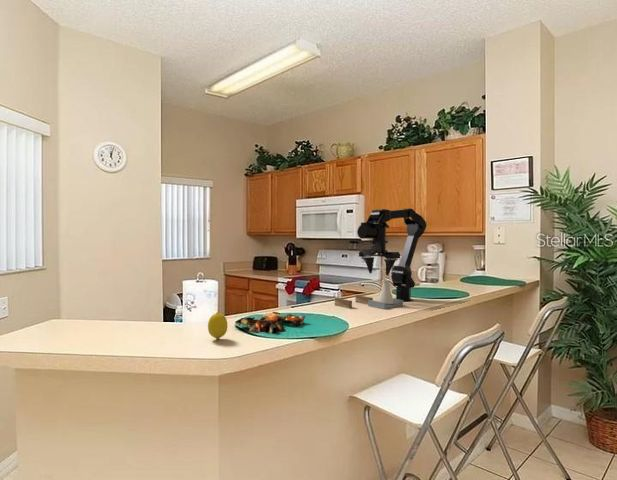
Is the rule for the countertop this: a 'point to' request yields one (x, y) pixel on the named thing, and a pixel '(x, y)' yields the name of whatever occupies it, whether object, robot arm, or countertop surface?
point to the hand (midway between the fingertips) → (378, 274)
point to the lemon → (217, 325)
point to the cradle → (383, 305)
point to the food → (270, 322)
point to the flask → (386, 293)
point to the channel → (349, 303)
